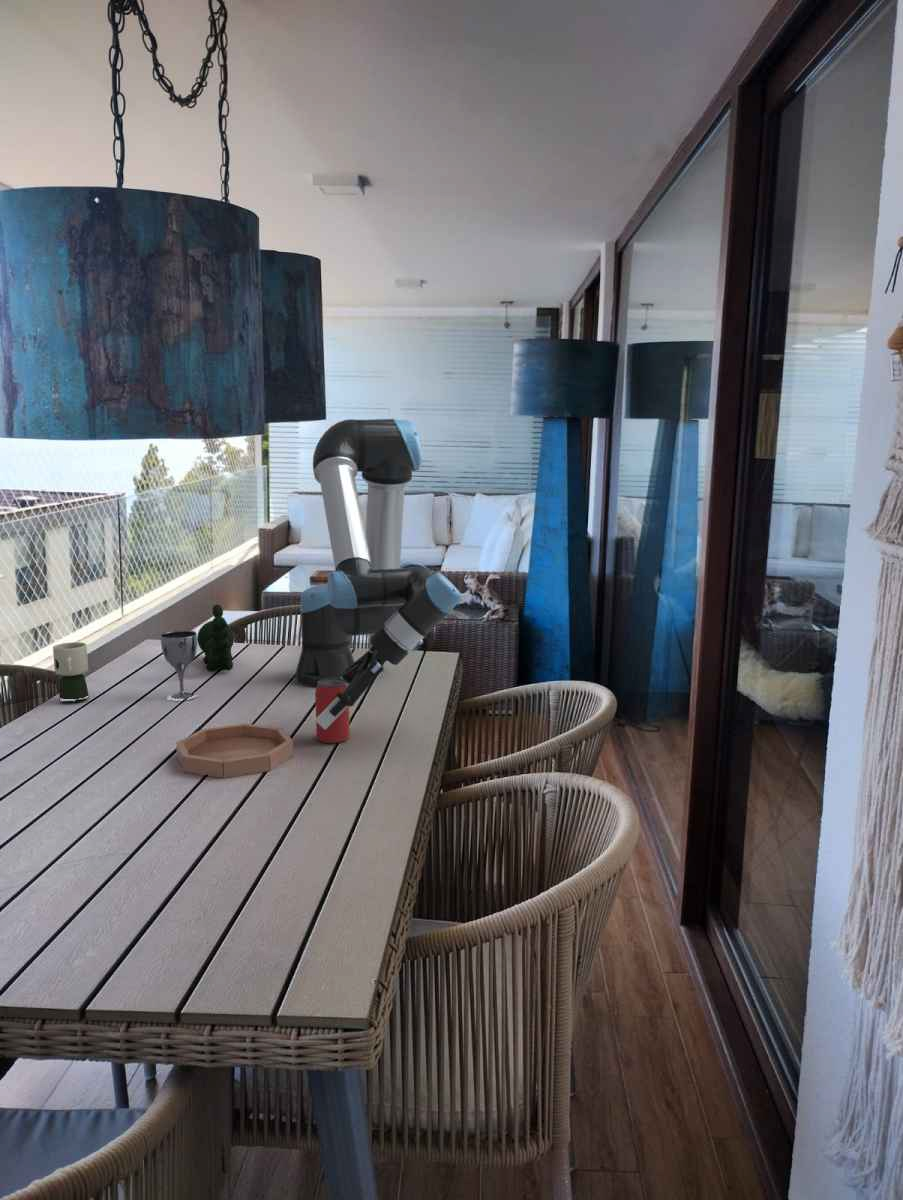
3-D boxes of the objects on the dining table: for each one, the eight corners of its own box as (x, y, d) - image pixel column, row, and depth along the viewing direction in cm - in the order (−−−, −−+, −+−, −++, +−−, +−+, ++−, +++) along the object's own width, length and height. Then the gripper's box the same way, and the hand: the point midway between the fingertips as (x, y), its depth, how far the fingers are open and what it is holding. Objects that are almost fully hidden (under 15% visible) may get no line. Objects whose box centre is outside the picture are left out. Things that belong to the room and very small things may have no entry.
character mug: (60, 695, 222) (56, 641, 219) (93, 693, 224) (88, 639, 221) (54, 709, 212) (49, 652, 209) (88, 706, 213) (83, 650, 211)
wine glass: (199, 700, 217) (196, 636, 214) (163, 703, 215) (159, 638, 213) (200, 691, 225) (196, 629, 222) (165, 693, 223) (161, 631, 220)
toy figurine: (241, 682, 239) (232, 650, 262) (238, 609, 234) (229, 584, 257) (202, 685, 236) (196, 653, 259) (199, 612, 231) (193, 586, 254)
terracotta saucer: (172, 747, 186) (171, 733, 185) (275, 733, 194) (274, 719, 194) (189, 783, 168) (188, 767, 167) (302, 766, 176) (301, 750, 175)
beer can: (344, 745, 187) (342, 686, 185) (312, 743, 188) (310, 685, 186) (353, 734, 193) (352, 677, 191) (322, 732, 195) (320, 676, 192)
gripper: (412, 667, 176) (333, 747, 178) (408, 637, 201) (338, 707, 202) (382, 640, 175) (303, 720, 177) (382, 613, 199) (312, 684, 201)
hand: (322, 714), depth 190 cm, fingers open, 13 cm apart
